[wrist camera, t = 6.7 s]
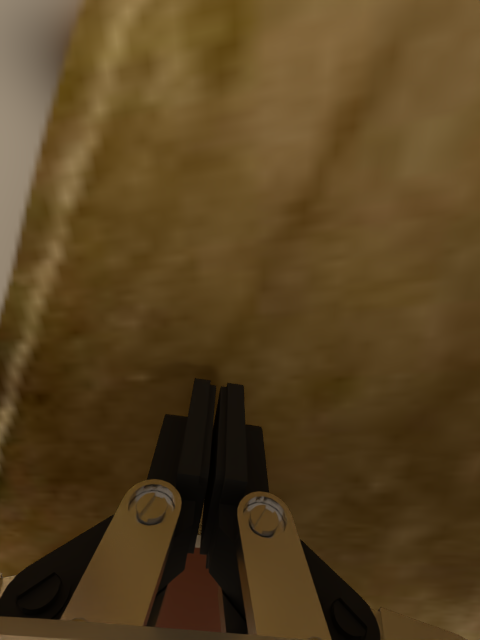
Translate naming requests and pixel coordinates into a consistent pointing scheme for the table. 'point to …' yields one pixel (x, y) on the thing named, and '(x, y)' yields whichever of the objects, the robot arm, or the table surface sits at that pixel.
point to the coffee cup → (192, 597)
